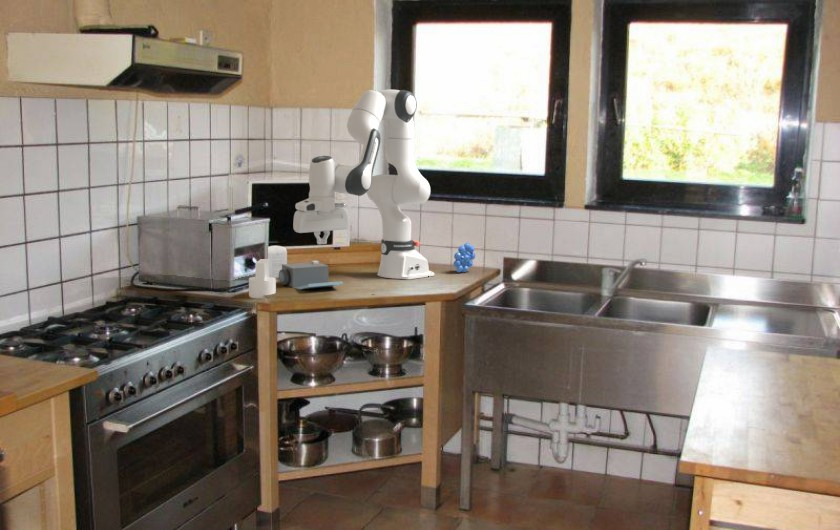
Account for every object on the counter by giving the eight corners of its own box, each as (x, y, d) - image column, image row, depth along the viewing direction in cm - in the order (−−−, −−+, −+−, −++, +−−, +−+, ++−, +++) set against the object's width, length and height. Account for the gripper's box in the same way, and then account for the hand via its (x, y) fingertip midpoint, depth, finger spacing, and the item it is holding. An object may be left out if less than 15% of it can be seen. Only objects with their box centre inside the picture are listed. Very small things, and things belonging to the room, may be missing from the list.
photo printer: (281, 276, 352) (282, 244, 350) (288, 277, 349) (288, 245, 347) (259, 279, 345) (259, 246, 343) (265, 280, 342) (265, 247, 340)
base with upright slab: (273, 299, 310) (273, 263, 308) (246, 298, 310) (246, 262, 308) (277, 293, 319) (277, 259, 317) (251, 292, 319) (251, 258, 317)
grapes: (466, 269, 379) (467, 240, 377) (478, 272, 374) (479, 242, 372) (446, 272, 371) (447, 242, 369) (458, 274, 366) (459, 244, 364)
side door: (327, 285, 331) (342, 281, 322) (327, 287, 331) (342, 284, 322) (294, 287, 324) (308, 284, 315) (294, 290, 324) (309, 286, 315)
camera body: (316, 283, 339) (317, 259, 338) (328, 287, 332) (328, 263, 331) (276, 286, 331) (276, 262, 329) (286, 291, 323) (287, 266, 322)
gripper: (344, 201, 325) (344, 240, 328) (291, 204, 314) (291, 244, 317) (352, 203, 320) (352, 242, 323) (299, 206, 309) (299, 247, 312)
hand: (321, 243), depth 320 cm, fingers closed
